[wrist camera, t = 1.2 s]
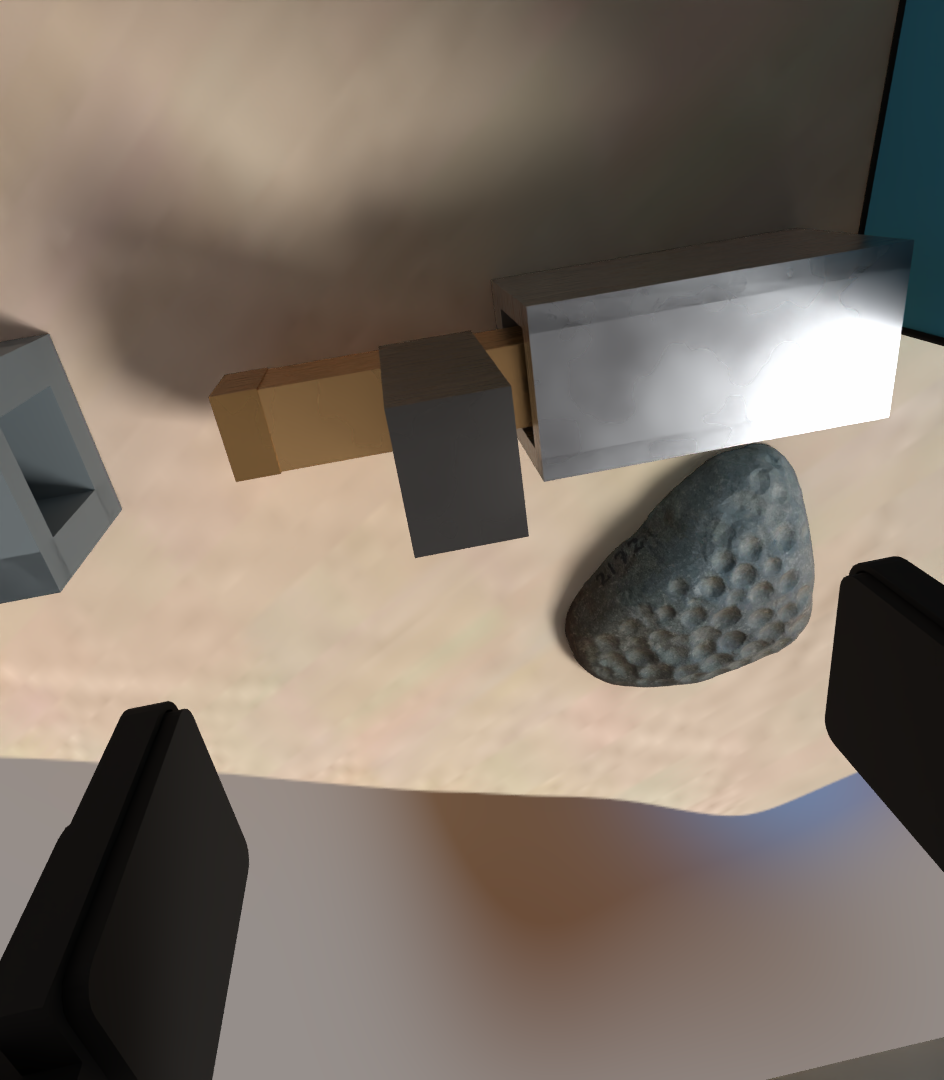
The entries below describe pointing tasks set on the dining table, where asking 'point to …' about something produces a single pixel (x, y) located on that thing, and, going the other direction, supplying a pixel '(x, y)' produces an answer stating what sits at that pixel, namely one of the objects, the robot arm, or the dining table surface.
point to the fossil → (702, 578)
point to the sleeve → (706, 346)
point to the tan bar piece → (399, 428)
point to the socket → (45, 474)
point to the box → (913, 162)
